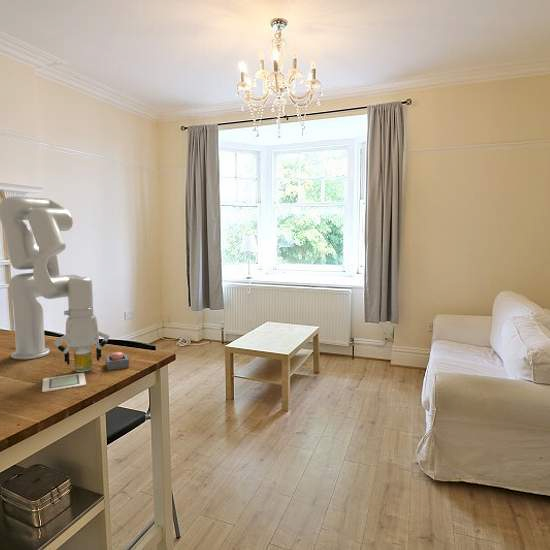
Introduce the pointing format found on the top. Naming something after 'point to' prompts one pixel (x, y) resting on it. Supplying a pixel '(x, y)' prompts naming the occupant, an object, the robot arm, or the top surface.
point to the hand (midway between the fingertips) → (83, 361)
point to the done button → (116, 356)
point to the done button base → (117, 363)
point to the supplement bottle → (82, 359)
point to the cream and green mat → (63, 382)
